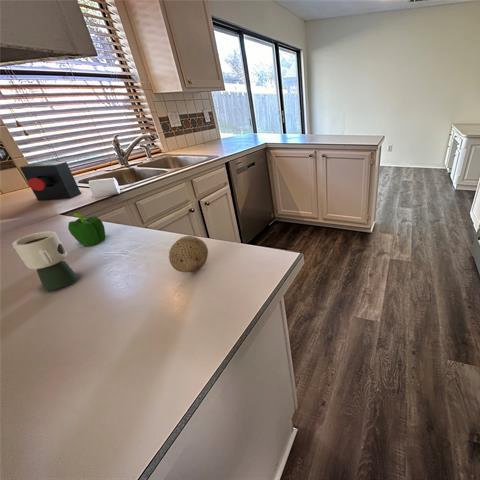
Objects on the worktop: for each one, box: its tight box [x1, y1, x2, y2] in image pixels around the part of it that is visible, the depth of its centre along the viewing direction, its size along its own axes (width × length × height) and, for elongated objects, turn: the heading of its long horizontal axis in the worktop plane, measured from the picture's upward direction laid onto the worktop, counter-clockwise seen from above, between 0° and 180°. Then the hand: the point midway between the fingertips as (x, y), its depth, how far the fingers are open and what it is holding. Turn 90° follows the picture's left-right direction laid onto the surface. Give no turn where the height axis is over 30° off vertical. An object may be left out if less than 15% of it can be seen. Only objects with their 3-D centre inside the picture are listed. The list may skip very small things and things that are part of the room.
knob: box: [27, 177, 51, 191], centre depth 120 cm, size 6×6×6 cm
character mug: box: [12, 230, 78, 291], centre depth 62 cm, size 11×7×13 cm, turn 51°
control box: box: [19, 161, 82, 202], centre depth 126 cm, size 8×14×16 cm, turn 101°
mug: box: [88, 177, 121, 198], centre depth 130 cm, size 12×10×8 cm
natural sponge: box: [168, 235, 209, 274], centre depth 66 cm, size 9×9×10 cm
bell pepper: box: [67, 212, 106, 247], centre depth 82 cm, size 8×8×10 cm
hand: (1, 152), depth 104 cm, fingers closed
